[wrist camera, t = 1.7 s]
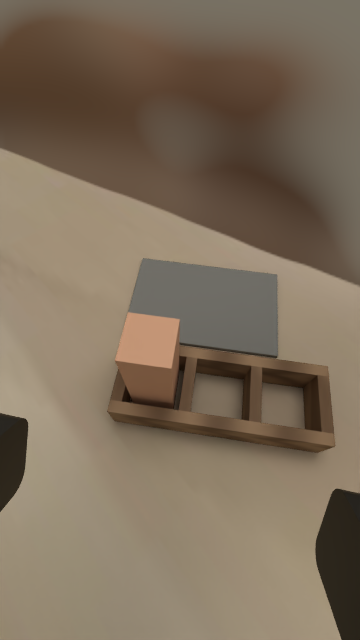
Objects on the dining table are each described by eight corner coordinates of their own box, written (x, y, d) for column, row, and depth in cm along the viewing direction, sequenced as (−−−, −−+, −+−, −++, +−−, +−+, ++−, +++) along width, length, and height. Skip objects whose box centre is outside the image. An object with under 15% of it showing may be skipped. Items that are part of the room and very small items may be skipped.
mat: (276, 277, 47) (277, 274, 46) (276, 357, 40) (277, 355, 40) (143, 260, 48) (142, 258, 47) (123, 336, 42) (122, 334, 41)
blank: (178, 375, 39) (179, 319, 27) (173, 412, 37) (171, 368, 25) (142, 370, 39) (127, 312, 27) (135, 406, 37) (114, 360, 25)
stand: (312, 379, 39) (327, 366, 35) (317, 452, 35) (335, 446, 31) (131, 354, 40) (126, 338, 36) (114, 421, 36) (107, 411, 32)
